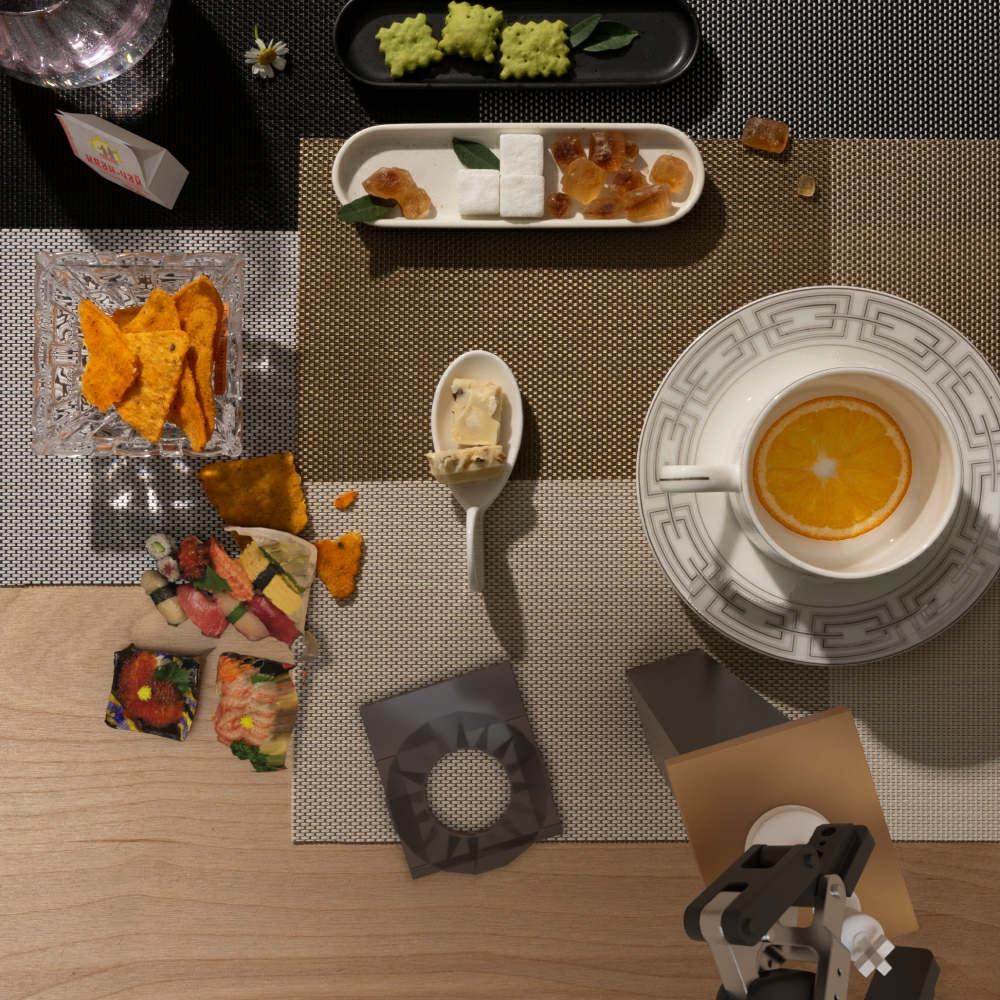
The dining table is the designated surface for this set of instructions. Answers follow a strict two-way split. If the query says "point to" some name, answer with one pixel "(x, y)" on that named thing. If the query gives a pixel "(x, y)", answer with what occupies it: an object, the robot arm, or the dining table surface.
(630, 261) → the dining table surface
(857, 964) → the chess piece
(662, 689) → the pillar
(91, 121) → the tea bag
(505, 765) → the board
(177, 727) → the food
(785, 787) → the tan rectangular panel
